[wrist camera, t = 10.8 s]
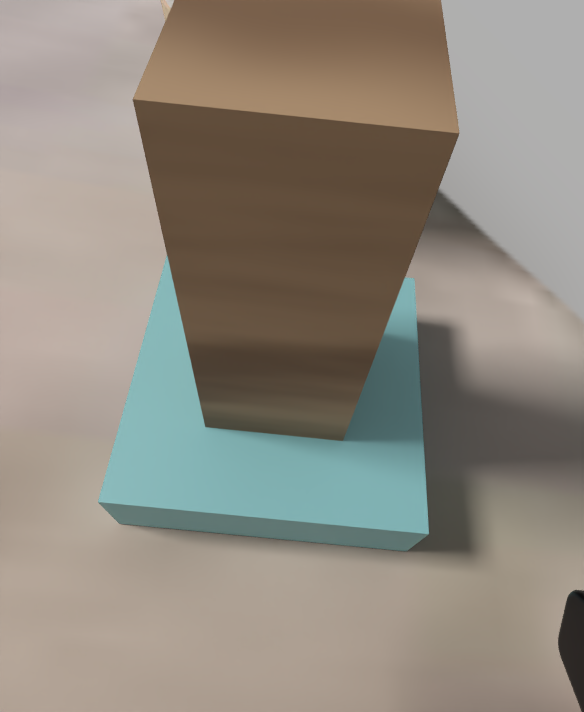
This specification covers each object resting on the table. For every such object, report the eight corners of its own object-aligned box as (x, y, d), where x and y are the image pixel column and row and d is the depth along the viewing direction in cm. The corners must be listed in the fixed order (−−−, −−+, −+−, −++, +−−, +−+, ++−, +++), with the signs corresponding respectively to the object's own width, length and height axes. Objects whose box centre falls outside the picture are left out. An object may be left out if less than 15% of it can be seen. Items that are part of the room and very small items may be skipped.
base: (406, 551, 19) (428, 533, 17) (118, 523, 19) (98, 501, 17) (398, 317, 25) (414, 278, 23) (176, 295, 25) (167, 253, 23)
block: (342, 441, 18) (459, 133, 8) (205, 427, 18) (132, 99, 8) (346, 327, 21) (438, -20, 10) (226, 315, 21) (193, -46, 10)
